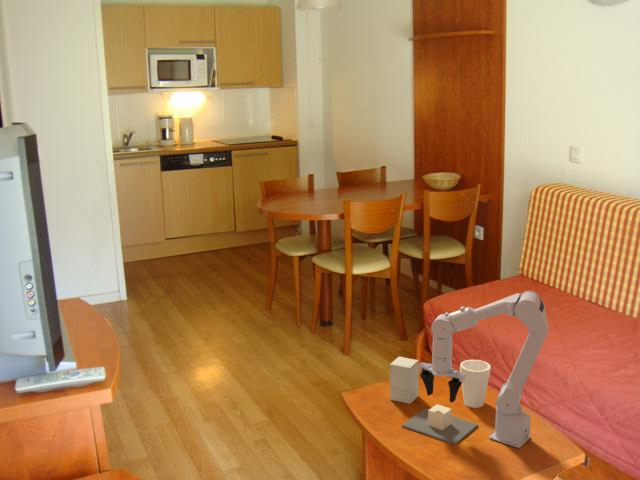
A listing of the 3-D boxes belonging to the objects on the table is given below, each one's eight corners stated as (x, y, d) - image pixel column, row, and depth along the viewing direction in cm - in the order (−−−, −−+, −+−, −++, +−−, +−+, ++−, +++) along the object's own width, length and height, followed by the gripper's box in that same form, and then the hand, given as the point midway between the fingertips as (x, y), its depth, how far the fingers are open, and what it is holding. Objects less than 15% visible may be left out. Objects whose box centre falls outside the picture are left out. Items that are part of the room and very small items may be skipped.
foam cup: (452, 401, 237) (454, 364, 234) (473, 394, 242) (475, 357, 239) (474, 412, 229) (475, 374, 226) (495, 404, 234) (496, 367, 231)
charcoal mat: (477, 426, 221) (477, 424, 221) (455, 445, 210) (455, 443, 210) (425, 409, 232) (425, 407, 232) (401, 426, 221) (401, 424, 221)
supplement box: (419, 395, 242) (419, 359, 239) (409, 404, 235) (410, 368, 232) (398, 391, 245) (398, 355, 242) (389, 399, 239) (389, 363, 236)
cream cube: (451, 424, 221) (451, 408, 220) (442, 430, 217) (442, 415, 216) (436, 419, 224) (437, 404, 223) (428, 425, 221) (428, 410, 219)
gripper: (413, 353, 217) (413, 396, 220) (457, 365, 208) (456, 409, 212) (426, 346, 222) (425, 387, 226) (469, 357, 214) (468, 400, 217)
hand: (441, 397), depth 219 cm, fingers open, 7 cm apart
